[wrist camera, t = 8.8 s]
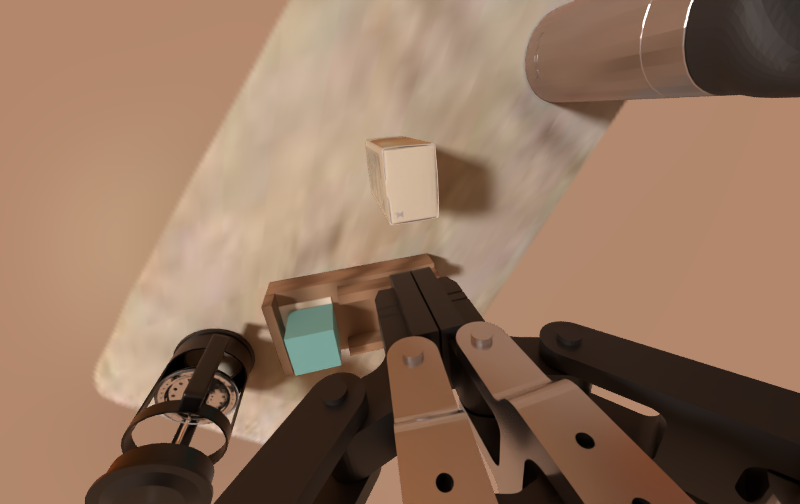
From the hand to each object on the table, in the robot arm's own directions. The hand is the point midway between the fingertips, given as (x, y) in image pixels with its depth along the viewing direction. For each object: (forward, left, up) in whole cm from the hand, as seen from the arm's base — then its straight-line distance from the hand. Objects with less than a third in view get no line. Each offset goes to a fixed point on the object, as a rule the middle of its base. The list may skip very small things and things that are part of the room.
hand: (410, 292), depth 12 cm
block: (+8, +17, -23) cm, 29 cm away
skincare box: (-4, 0, -27) cm, 27 cm away
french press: (+21, +21, -27) cm, 40 cm away
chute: (+2, +17, -26) cm, 31 cm away
